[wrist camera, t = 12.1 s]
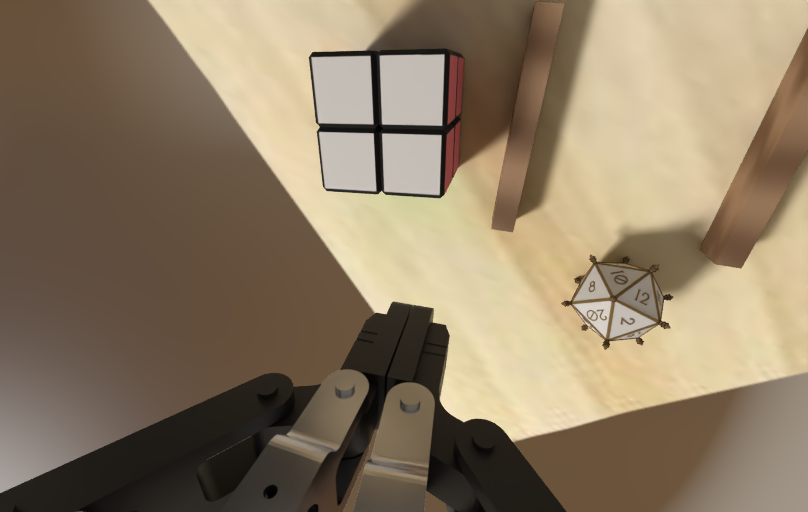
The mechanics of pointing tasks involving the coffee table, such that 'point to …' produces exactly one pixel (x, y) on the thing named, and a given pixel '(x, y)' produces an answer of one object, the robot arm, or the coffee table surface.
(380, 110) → the puzzle cube
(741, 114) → the coffee table surface
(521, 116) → the chute
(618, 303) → the game die
